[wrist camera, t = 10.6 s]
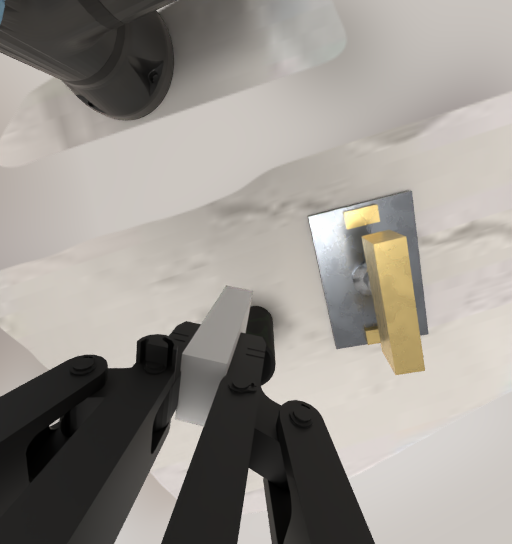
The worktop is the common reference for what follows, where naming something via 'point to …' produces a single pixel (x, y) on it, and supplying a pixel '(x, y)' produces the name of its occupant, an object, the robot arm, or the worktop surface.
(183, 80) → the worktop surface
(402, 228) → the plate
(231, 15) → the worktop surface
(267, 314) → the cup
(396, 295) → the flat gold bar
